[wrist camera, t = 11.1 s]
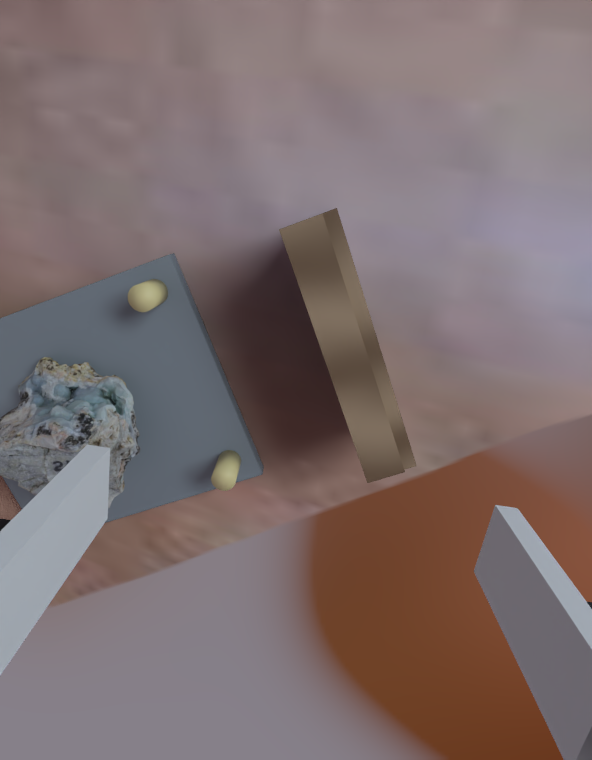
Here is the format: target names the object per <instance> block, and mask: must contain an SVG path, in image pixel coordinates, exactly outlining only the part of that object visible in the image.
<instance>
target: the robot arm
mask: <svg viewBox="0 0 592 760" xmlns="http://www.w3.org/2000/svg"><path fill="white" fill-rule="evenodd" d="M109 466H110V448H107V447H100V446H93V445H86V446H85V447H84V448H83V449H82V450H81V451H80V452H79V453H78V454H77V455H76V456H75V457H74V458H73V459H72V460H71V461H70V462H69V463H68V464H67V465H66V466H65V467H64V468H63V469H62V470H61V471H60V472H59V473H58V474H57V475H56V476H55V477H54V478H53V479H52V480H51V481H50V482H49V483H48V484H47V485H46V486H45V487H44V488H43V489H42V490H41V491H40V492H39V493H38V494H37V495H36V496H35V497H34V498H33V499H32V500H31V501H30V502H29V503H28V504H27V505H26V506H25V507H24V508H23V509H22V510H21V511H20V512H19V513H18V514H17V515H16V516H15V517H14V518H13V519H12V520H6V519H0V675H1V674H2V672H3V671H4V669H5V668H6V666H7V665H8V664H9V662H10V661H11V659H12V658H13V656H14V655H15V653H16V652H17V650H18V649H19V647H20V646H21V645H22V643H23V641H24V640H25V639H26V637H27V636H28V634H29V633H30V631H31V630H32V628H33V627H34V625H35V624H36V622H37V621H38V620H39V618H40V617H41V615H42V614H43V612H44V611H45V609H46V608H47V606H48V605H49V604H50V602H51V601H52V599H53V598H54V596H55V595H56V593H57V592H58V590H59V589H60V587H61V586H62V584H63V583H64V582H65V580H66V579H67V577H68V576H69V574H70V573H71V571H72V570H73V568H74V567H75V565H76V564H77V563H78V561H79V560H80V558H81V557H82V555H83V554H84V552H85V551H86V549H87V548H88V546H89V545H90V543H91V542H92V541H93V539H94V538H95V536H96V535H97V533H98V532H99V530H100V529H101V527H102V526H103V524H104V523H105V521H106V520H107V519H108V494H109ZM474 572H475V575H476V577H477V579H478V581H479V583H480V585H481V587H482V589H483V591H484V593H485V595H486V597H487V600H488V602H489V604H490V606H491V608H492V610H493V612H494V614H495V616H496V618H497V621H498V623H499V625H500V627H501V629H502V631H503V633H504V635H505V637H506V640H507V641H508V644H509V646H510V648H511V650H512V652H513V654H514V656H515V658H516V660H517V662H518V665H519V667H520V669H521V671H522V673H523V675H524V677H525V679H526V681H527V683H528V686H529V688H530V690H531V692H532V694H533V696H534V698H535V700H536V702H537V704H538V706H539V709H540V711H541V713H542V715H543V717H544V719H545V721H546V723H547V725H548V727H549V729H550V732H551V734H552V736H553V738H554V740H555V742H556V744H557V746H558V748H559V750H560V753H561V755H562V757H563V759H564V760H592V602H586V601H585V599H584V598H583V597H582V595H581V594H580V593H579V591H578V590H577V588H576V587H575V586H574V584H573V583H572V582H571V580H570V579H569V578H568V576H567V575H566V573H565V572H564V571H563V569H562V568H561V567H560V565H559V564H558V563H557V561H556V560H555V559H554V557H553V556H552V555H551V553H550V552H549V550H548V549H547V548H546V546H545V545H544V544H543V542H542V541H541V540H540V538H539V537H538V536H537V534H536V533H535V532H534V530H533V529H532V527H531V526H530V525H529V523H528V522H527V521H526V519H525V518H524V517H523V515H522V514H521V512H520V511H519V510H518V509H517V508H512V507H505V506H498V505H495V508H494V511H493V514H492V517H491V520H490V523H489V526H488V529H487V532H486V536H485V539H484V542H483V545H482V548H481V551H480V554H479V557H478V560H477V563H476V566H475V570H474Z"/></svg>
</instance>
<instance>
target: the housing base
mask: <svg viewBox="0 0 592 760" xmlns="http://www.w3.org/2000/svg"><path fill="white" fill-rule="evenodd" d="M43 357H51V358H52V359H53V361H57V362H58V364H59V365H63V364H66V365H68V366H72V365H73V364H83V363H84V362H88V363H89V365H90V366H91V367H92V368H93V369H94V370H95V372H96V373H97V374H99V375H100V376H103V377H104V376H113V375H116V376H118V377H119V378H121V379H122V380H123V381H124V382H125V383H126V387H127V389H128V390H129V391H130V393H131V394H132V396H133V401H134V405H133V409H134V412H135V416H136V427H137V429H138V431H139V434H140V435H139V437H138V438H137V442H138V445H139V446H140V447H141V449H140V452H139V454H138V455H136V456H134V457H133V458H132V459H131V461H129V462H128V464H127V465H126V466H125V468H126V471H125V472H124V473H123V480H124V484H125V486H124V491H123V492H122V493H120V494H119V495H117V496H116V497H114V499H113V501H112V503H111V505H110V508H108V519H107V520H106V521H105V523H106V522H109V521H112V520H116V519H119V518H122V517H125V516H129V515H132V514H135V513H138V512H142V511H145V510H148V509H151V508H155V507H158V506H161V505H164V504H168V503H171V502H174V501H177V500H181V499H184V498H187V497H190V496H194V495H197V494H200V493H203V492H207V491H210V490H213V489H216V488H217V489H219V490H223V491H226V490H230V489H231V488H233V487H234V485H235V483H236V482H239V481H242V480H246V479H249V478H252V477H255V476H259V475H262V474H263V468H264V467H263V464H262V462H261V460H260V457H259V455H258V452H257V450H256V448H255V445H254V443H253V440H252V438H251V436H250V433H249V431H248V429H247V426H246V424H245V421H244V419H243V417H242V414H241V412H240V409H239V407H238V405H237V402H236V400H235V398H234V395H233V393H232V390H231V388H230V386H229V383H228V381H227V378H226V376H225V374H224V371H223V369H222V367H221V364H220V362H219V359H218V357H217V355H216V352H215V350H214V347H213V345H212V343H211V340H210V338H209V335H208V333H207V331H206V328H205V326H204V324H203V321H202V319H201V316H200V314H199V312H198V309H197V307H196V304H195V302H194V300H193V297H192V295H191V293H190V290H189V288H188V285H187V283H186V281H185V278H184V276H183V273H182V271H181V269H180V266H179V264H178V262H177V259H176V257H175V254H170V255H167V256H164V257H162V258H159V259H156V260H154V261H151V262H148V263H146V264H143V265H141V266H138V267H135V268H133V269H130V270H127V271H125V272H122V273H119V274H117V275H114V276H111V277H109V278H106V279H103V280H101V281H98V282H96V283H93V284H90V285H88V286H85V287H82V288H80V289H77V290H74V291H72V292H69V293H66V294H64V295H61V296H58V297H56V298H53V299H51V300H48V301H45V302H43V303H40V304H37V305H35V306H32V307H29V308H27V309H24V310H21V311H19V312H16V313H13V314H11V315H8V316H6V317H3V318H0V419H1V417H2V416H3V415H5V414H6V413H8V412H9V411H11V410H12V409H14V408H16V407H17V406H18V404H19V402H20V401H21V399H20V395H19V391H18V385H20V384H21V383H22V382H23V381H24V379H25V378H26V377H28V376H30V375H31V374H32V373H33V371H34V370H35V368H36V365H37V364H38V362H39V360H40V359H42V358H43ZM2 477H3V476H2ZM3 479H4V480H5V482H6V484H7V485H8V487H9V489H10V490H11V492H12V494H13V495H14V497H15V498H16V500H17V502H18V503H19V505H20V507H21V508H22V509H23V508H24V507H25V506H26V505H27V504H28V503H29V502H30V501H31V500H32V499H33V498H34V497H35V495H34V494H32V493H30V492H29V491H28V490H26V489H24V488H22V487H20V486H18V483H19V482H17V481H14V480H11V479H8V478H5V477H3Z"/></svg>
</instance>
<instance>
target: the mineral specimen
mask: <svg viewBox="0 0 592 760" xmlns="http://www.w3.org/2000/svg"><path fill="white" fill-rule="evenodd" d="M18 391H19V395H20V399H21V401H20V402H19V404H18V406H17V407H16V408H14V409H12V410H11V411H9V412H8V413H6V414H5V415H3V416H2V417H1V419H0V476H3V477H5V478H8V479H11V480H14V481H17V482H19V483H18V486H20V487H22V488H24V489H26V490H28V491H29V492H30V493H32V494H34V495H35V496H36V495H37V494H38V493H39V492H40V491H41V490H42V489H43V488H44V487H45V486H46V485H47V484H48V483H49V482H50V481H51V480H52V479H53V478H54V477H55V476H56V475H57V474H58V473H59V472H60V471H61V470H62V469H63V468H64V467H65V466H66V465H67V464H68V463H69V462H70V461H71V460H72V459H73V458H74V457H75V456H76V455H77V454H78V453H79V452H80V451H81V450H82V449H83V448H84V447H85V446H86V445H93V446H100V447H107V448H110V466H109V494H108V508H110V505H111V503H112V501H113V499H114V497H116V496H117V495H119V494H120V493H122V492H123V491H124V486H125V484H124V480H123V473H124V472H125V471H126V468H125V466H126V465H127V464H128V462H129V461H131V459H132V458H133V457H134V456H136V455H138V454H139V452H140V449H141V447H140V446H139V445H138V442H137V438H138V437H139V435H140V434H139V431H138V429H137V427H136V416H135V412H134V409H133V405H134V401H133V396H132V394H131V393H130V391H129V390H128V389H127V387H126V383H125V382H124V381H123V380H122V379H121V378H119V377H118V376H116V375H113V376H104V377H103V376H100V375H99V374H97V373H96V372H95V370H94V369H93V368H92V367H91V366H90V365H89V363H88V362H84V363H83V364H73V365H72V366H68V365H66V364H63V365H59V364H58V362H57V361H53V359H52V358H51V357H43V358H42V359H40V360H39V362H38V364H37V365H36V368H35V370H34V371H33V373H32V374H31V375H30V376H28V377H26V378H25V379H24V381H23V382H22V383H21V384H20V385H18Z"/></svg>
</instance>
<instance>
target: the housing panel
mask: <svg viewBox="0 0 592 760" xmlns="http://www.w3.org/2000/svg"><path fill="white" fill-rule="evenodd" d="M279 231H280V233H281V236H282V239H283V242H284V245H285V248H286V251H287V253H288V256H289V259H290V262H291V265H292V268H293V271H294V274H295V276H296V279H297V282H298V285H299V288H300V291H301V294H302V296H303V299H304V302H305V305H306V308H307V311H308V314H309V316H310V319H311V322H312V325H313V328H314V331H315V334H316V337H317V339H318V342H319V345H320V348H321V351H322V354H323V357H324V359H325V362H326V365H327V368H328V371H329V374H330V377H331V380H332V382H333V385H334V388H335V391H336V394H337V397H338V400H339V402H340V405H341V408H342V411H343V414H344V417H345V420H346V423H347V425H348V428H349V431H350V434H351V437H352V440H353V443H354V445H355V448H356V451H357V454H358V457H359V460H360V463H361V466H362V468H363V471H364V474H365V477H366V480H367V483H369V482H373V481H376V480H380V479H383V478H386V477H390V476H393V475H396V474H400V473H403V472H405V470H404V469H408V468H411V467H414V466H416V462H415V459H414V456H413V453H412V450H411V446H410V443H409V440H408V437H407V433H406V430H405V427H404V424H403V421H402V417H401V414H400V411H399V408H398V404H397V401H396V398H395V395H394V391H393V388H392V385H391V382H390V379H389V375H388V372H387V369H386V366H385V362H384V359H383V356H382V353H381V350H380V346H379V343H378V340H377V337H376V333H375V330H374V327H373V324H372V320H371V317H370V314H369V311H368V308H367V304H366V301H365V298H364V295H363V291H362V288H361V285H360V282H359V279H358V275H357V272H356V269H355V266H354V262H353V259H352V256H351V253H350V249H349V246H348V243H347V240H346V237H345V233H344V230H343V227H342V224H341V220H340V217H339V214H338V211H337V208H336V209H333V210H330V211H328V212H325V213H322V214H320V215H317V216H314V217H312V218H309V219H306V220H304V221H301V222H298V223H295V224H293V225H290V226H287V227H285V228H282V229H279Z"/></svg>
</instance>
